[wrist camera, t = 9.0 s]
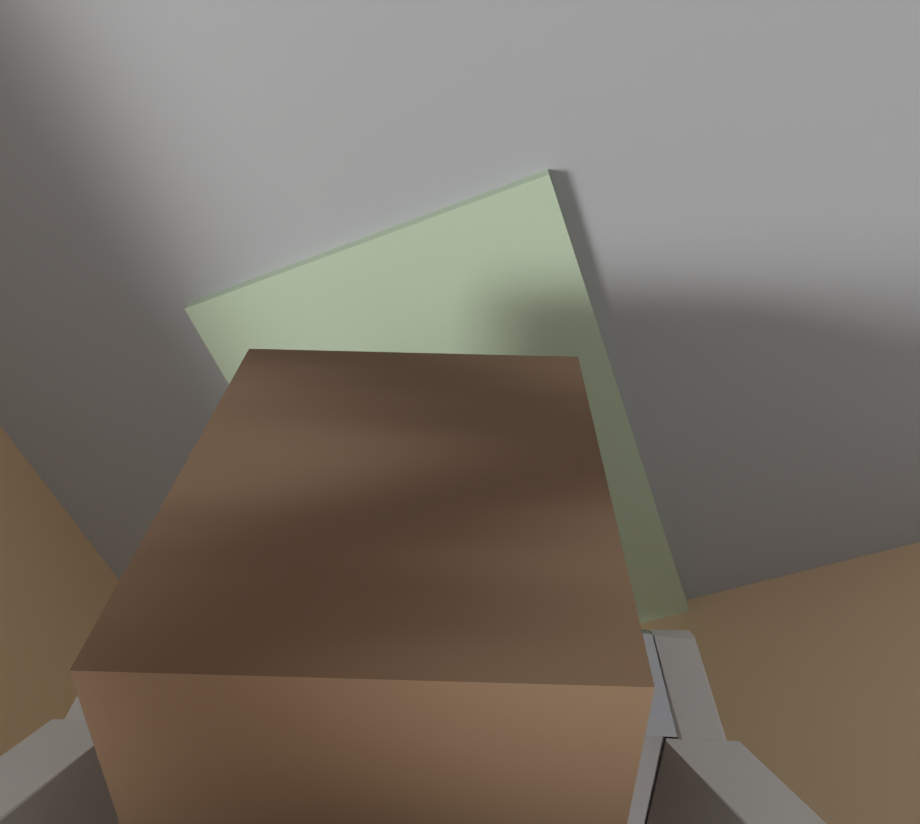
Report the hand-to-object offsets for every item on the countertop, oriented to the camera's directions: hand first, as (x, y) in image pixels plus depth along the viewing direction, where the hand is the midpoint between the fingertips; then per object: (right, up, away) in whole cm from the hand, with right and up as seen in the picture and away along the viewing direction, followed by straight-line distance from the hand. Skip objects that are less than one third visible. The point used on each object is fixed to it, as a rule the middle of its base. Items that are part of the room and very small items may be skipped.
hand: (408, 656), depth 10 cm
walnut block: (0, +1, +1) cm, 2 cm away
